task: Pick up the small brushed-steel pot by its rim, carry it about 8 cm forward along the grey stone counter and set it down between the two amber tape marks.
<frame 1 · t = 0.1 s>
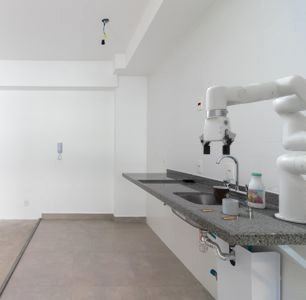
hand: (215, 154, 90), 31 cm above the worktop, tool pointing down, fingers open, 9 cm apart
tape marks: (217, 214, 107), on the worktop
pot: (230, 213, 109), on the worktop
coffee mug: (218, 203, 130), on the worktop
milk bottle: (256, 207, 122), on the worktop
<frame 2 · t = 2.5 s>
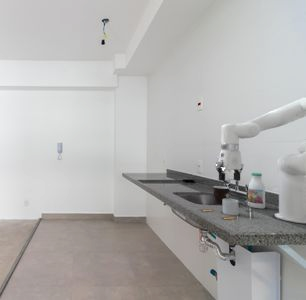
hand: (229, 180, 108), 17 cm above the worktop, tool pointing down, fingers open, 9 cm apart
nothing on the worktop moved.
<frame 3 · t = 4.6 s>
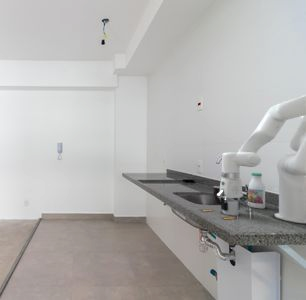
hand: (230, 209, 109), 2 cm above the worktop, tool pointing down, fingers closed on pot, 6 cm apart
pot: (230, 213, 109), on the worktop, touching gripper
everything else where it was.
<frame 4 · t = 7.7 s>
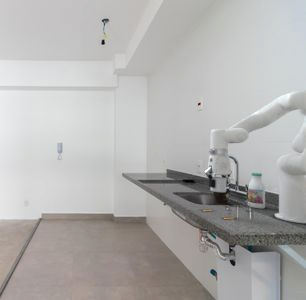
hand: (218, 186, 107), 14 cm above the worktop, tool pointing down, fingers closed on pot, 6 cm apart
pot: (218, 191, 107), point 12 cm above the worktop, touching gripper
everything else where it was.
when the fingers open (2 cm above the worktop, at t = 10.9 s): pot stays where it is, on the worktop.
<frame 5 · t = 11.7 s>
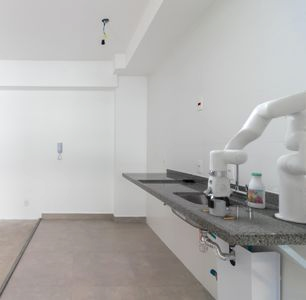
hand: (218, 207, 107), 4 cm above the worktop, tool pointing down, fingers open, 9 cm apart
pot: (217, 214, 107), on the worktop
everything else where it was.
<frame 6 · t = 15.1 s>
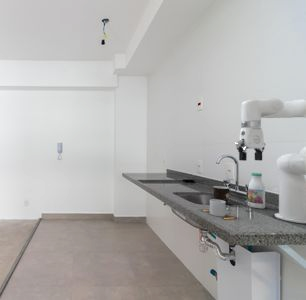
hand: (250, 160, 102), 28 cm above the worktop, tool pointing down, fingers open, 9 cm apart
nothing on the worktop moved.
at the end: pot 0.1 cm from the target spot, on the worktop; pot tilted 0°; coffee mug moved 0.2 cm from its start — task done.
